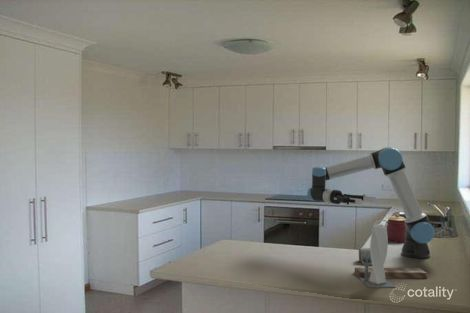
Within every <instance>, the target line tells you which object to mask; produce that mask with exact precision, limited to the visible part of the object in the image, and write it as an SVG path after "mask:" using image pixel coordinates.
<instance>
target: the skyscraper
mask: <svg viewBox="0 0 470 313" xmlns="http://www.w3.org/2000/svg"><path fill="white" fill-rule="evenodd" d="M387 221H388V220H386V219H379V220H376V221H375V222H374V223H373V226H372V230H371V235H370V247H369V248H370V253H371V261H372V265H371V268H372V270H371V274H370V278H369V279H368V275H369V273H368V268H369V266H370V265H369V263H368V253H367V257H366V262H365V265H364V266H365V267H364V268H365V279H364V280H363V281H365V282H367V283H370V284H372V285H380V284H386V280H387V278H385V272H384V268H385V267H384V265H385V262H386V258H387V255H388V248H389V247H388V246H389V243H388V242H389V241H388V237H387V230H386V226H387ZM378 222H385V224H383V223H378Z"/></svg>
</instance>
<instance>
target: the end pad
mask: <svg viewBox="0 0 470 313" xmlns="http://www.w3.org/2000/svg"><path fill="white" fill-rule="evenodd" d="M358 278H359V280H360V281H361V282H362V283H363V284H364V285H366V286H367V288H396V286H395V285H394V284H393V283H392V282H391V281H389V280H388V279H386V284H380V285H372V284H370V283H367V282H365V281H363V280H364V279H365V278H360V277H358ZM368 279H369V278H368Z"/></svg>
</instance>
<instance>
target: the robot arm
mask: <svg viewBox="0 0 470 313" xmlns="http://www.w3.org/2000/svg"><path fill="white" fill-rule="evenodd" d="M370 169H371V170H372V169H374V170H378V169H381V170H382V172H383V175H384V176H385V177H388V179H389V181H390V183H391V185H392V186H391V187H392V188H393V191H394V193H395V194H396V197H397V199H398V202H399V203H400V206H401V208H402V211H403V213H404V215H405V219H406V220H405V223H406V233H405V242H403V244H402V245H403V246H402V248H401V252H400V253H401V255H402V256H405V257H409V258H414V259H429V258H430V257H431V252H430V249H429V245H428V243H430V242H431V241H432V240H433V239H434V238H435V234H436V232H435V228H434V226H433V225H432V224H431V222H430V219H429V217H428V215H427V214H426V213H424V212H423V211H422V209H421V207H420V203H419V202H418V200H417V198H416V195H415V193H414V191H413V188H412V186H411V184H410V181H409V179H408V177H407V174H406V172H405V170H406V165H405V163H404V160H403V155H402V153H401V152H400V150H399V149H397V148H395V147H389V146H388V147H384V148H381V149H379V150H377V151H374V152H370V153H369V155H366V156H362V157H358V158H355V159H351V160H347V161H344V162H341V163H337V164H333V165H330V166H326V167H323V166H313V167H312V171H311V187H309V188H308V189H307V192H306V196H307V199H308V200H309V201H312V202H315V203H316V202H317V203H327V205H330V204H335V205H340V204H341V203H343V204H346V205H349V204H352V205H362V204H363V202H369V203H376V197H375V196H368V195H365V194H363V195H362V194H360V195H358V194H347V193H343V192H342V191H341V190H339V189H330V188H326V183H327V182H326V181H330V180H333V179H336V178H340V177H344V176H349V175H352V174H355V173H359V172H363V171H367V170H370Z"/></svg>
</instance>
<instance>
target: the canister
mask: <svg viewBox="0 0 470 313" xmlns="http://www.w3.org/2000/svg"><path fill="white" fill-rule="evenodd" d="M387 219H388V220H386V221H387V224H386V230H387V237H388V242H393V243H404V242H405V233H406V223H405V220H406V217H404V216H401V215H400V214H399V213H395V215H391V216H389V217H387Z"/></svg>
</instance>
